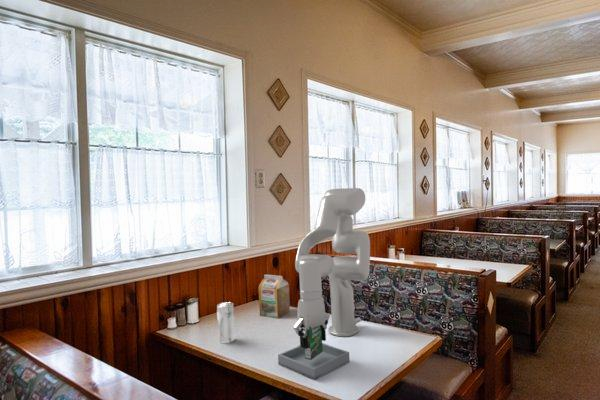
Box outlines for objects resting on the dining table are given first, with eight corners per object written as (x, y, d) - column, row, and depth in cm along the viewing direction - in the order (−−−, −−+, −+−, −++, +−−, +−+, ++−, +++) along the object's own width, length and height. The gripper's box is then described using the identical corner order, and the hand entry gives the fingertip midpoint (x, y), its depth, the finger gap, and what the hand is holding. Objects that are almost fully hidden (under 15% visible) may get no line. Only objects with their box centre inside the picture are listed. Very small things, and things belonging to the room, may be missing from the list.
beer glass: (239, 338, 171) (237, 302, 170) (229, 344, 165) (227, 307, 164) (225, 336, 174) (223, 301, 173) (215, 342, 167) (213, 306, 167)
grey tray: (313, 348, 157) (313, 339, 157) (349, 362, 144) (349, 352, 144) (278, 364, 145) (277, 354, 144) (314, 380, 132) (313, 369, 132)
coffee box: (311, 360, 140) (309, 322, 140) (304, 359, 142) (302, 321, 141) (323, 352, 147) (321, 315, 146) (316, 350, 148) (314, 314, 148)
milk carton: (290, 312, 203) (288, 273, 202) (277, 318, 194) (276, 278, 193) (272, 309, 208) (270, 272, 208) (259, 315, 199) (257, 276, 199)
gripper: (320, 287, 152) (322, 334, 153) (285, 298, 140) (287, 348, 141) (335, 290, 147) (337, 339, 147) (300, 302, 135) (302, 354, 135)
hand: (313, 343), depth 144 cm, fingers closed on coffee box, 8 cm apart
